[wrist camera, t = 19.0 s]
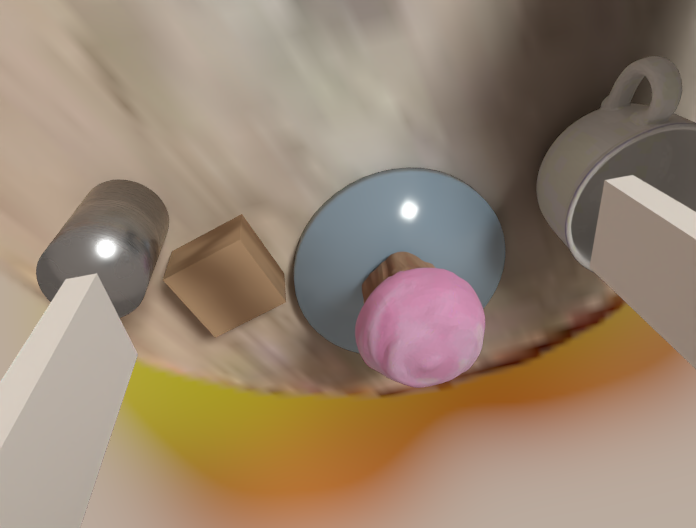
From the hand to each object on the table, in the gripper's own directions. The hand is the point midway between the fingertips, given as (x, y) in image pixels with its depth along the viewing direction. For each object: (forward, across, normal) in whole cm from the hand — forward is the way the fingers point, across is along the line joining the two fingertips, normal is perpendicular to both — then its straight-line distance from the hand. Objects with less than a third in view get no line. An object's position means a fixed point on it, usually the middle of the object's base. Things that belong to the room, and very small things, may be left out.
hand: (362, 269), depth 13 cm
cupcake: (+20, +5, -15) cm, 26 cm away
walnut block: (+22, -8, -12) cm, 26 cm away
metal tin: (+21, -14, -6) cm, 26 cm away
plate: (+22, +5, -15) cm, 27 cm away
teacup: (+22, +20, -7) cm, 31 cm away
